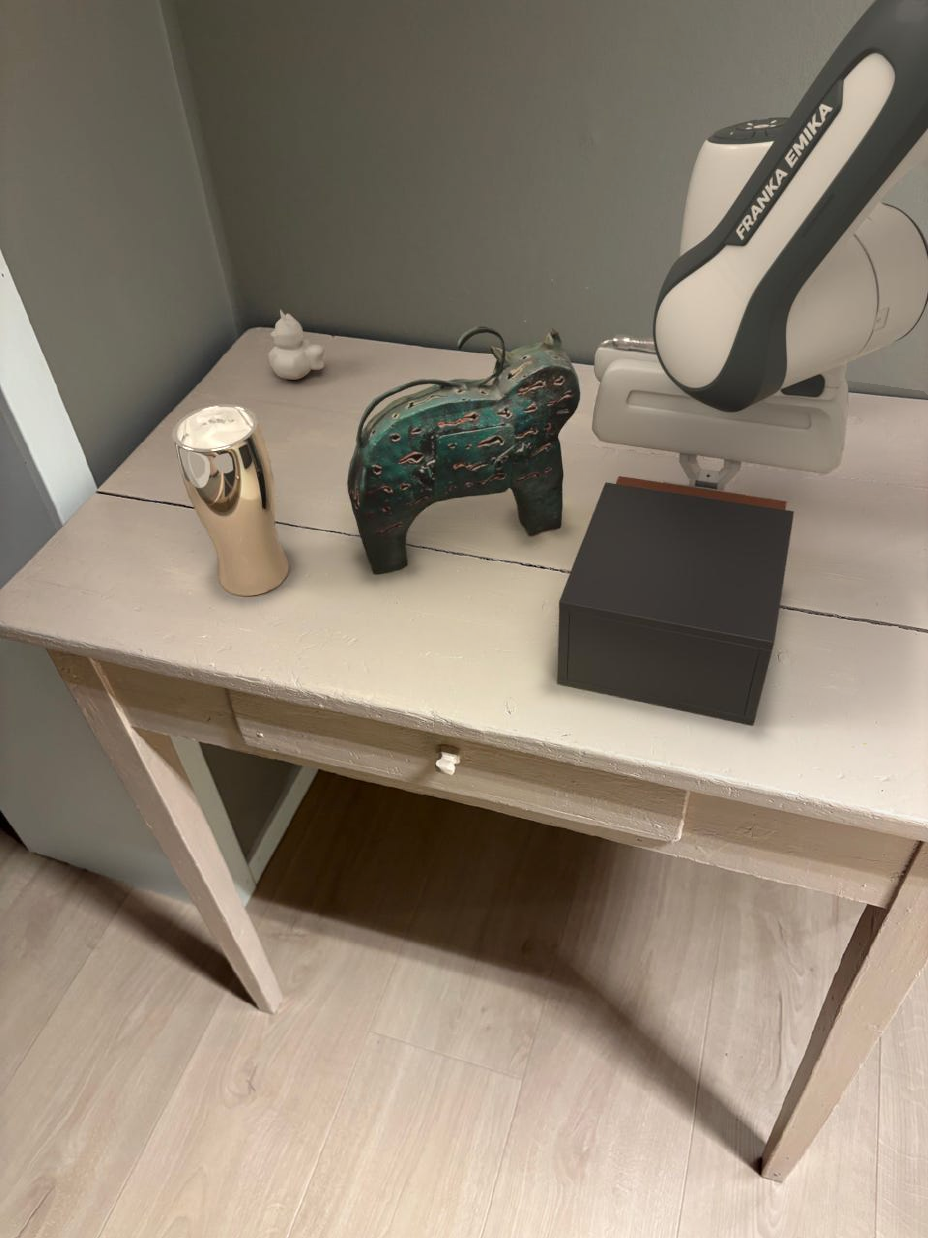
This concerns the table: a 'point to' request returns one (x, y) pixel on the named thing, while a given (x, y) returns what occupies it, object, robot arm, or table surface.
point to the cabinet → (675, 601)
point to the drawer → (702, 492)
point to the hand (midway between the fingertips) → (705, 492)
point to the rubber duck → (293, 350)
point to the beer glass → (233, 494)
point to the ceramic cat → (465, 446)
